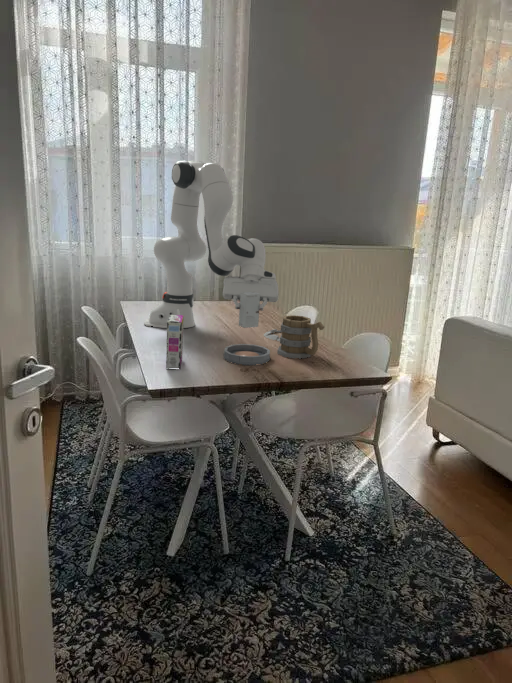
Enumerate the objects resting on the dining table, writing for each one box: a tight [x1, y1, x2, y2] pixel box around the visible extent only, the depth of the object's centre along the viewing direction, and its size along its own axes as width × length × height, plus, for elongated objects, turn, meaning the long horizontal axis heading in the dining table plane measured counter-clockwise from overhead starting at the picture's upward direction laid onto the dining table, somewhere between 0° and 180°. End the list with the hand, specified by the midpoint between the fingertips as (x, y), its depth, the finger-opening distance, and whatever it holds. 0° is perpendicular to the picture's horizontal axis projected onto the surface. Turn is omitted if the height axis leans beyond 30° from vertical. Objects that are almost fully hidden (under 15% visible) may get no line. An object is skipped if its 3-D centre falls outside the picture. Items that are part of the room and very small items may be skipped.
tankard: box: [276, 314, 325, 360], centre depth 193 cm, size 20×13×15 cm, turn 36°
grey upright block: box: [238, 292, 261, 329], centre depth 184 cm, size 6×4×12 cm
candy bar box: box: [165, 315, 184, 370], centre depth 175 cm, size 11×5×16 cm, turn 4°
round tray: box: [223, 343, 271, 366], centre depth 188 cm, size 17×17×3 cm
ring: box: [263, 328, 282, 342], centre depth 223 cm, size 19×19×2 cm
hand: (249, 309), depth 183 cm, fingers closed on grey upright block, 7 cm apart
